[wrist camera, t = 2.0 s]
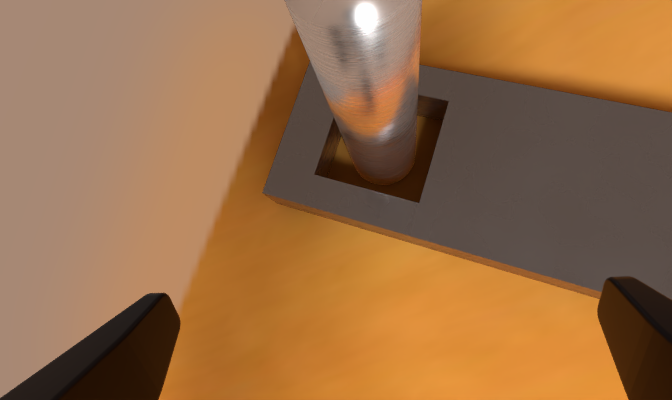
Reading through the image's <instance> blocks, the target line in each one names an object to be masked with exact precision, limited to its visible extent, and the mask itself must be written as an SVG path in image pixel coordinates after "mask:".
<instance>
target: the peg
mask: <svg viewBox="0 0 672 400" xmlns="http://www.w3.org/2000/svg"><path fill="white" fill-rule="evenodd" d="M285 2H286V5H287V7H288V9H289V12H290V14H291V17H292V19H293V21H294V24H295V26H296V29H297V31H298V33H299V36H300V38H301V40H302V43H303V45H304V47H305V50H306V52H307V55H308V57H309V59H310V62H311V64H312V66H313V69H314V71H315V74H316V76H317V78H318V81H319V83H320V85H321V88H322V90H323V92H324V95H325V97H326V100H327V102H328V104H329V107H330V109H331V111H332V114H333V116H334V118H335V121H336V123H337V126H338V128H339V130H340V133H341V135H342V137H343V140H344V142H345V145H346V147H347V149H348V152H349V154H350V156H351V159H352V161H353V163H354V166H355V168H356V170H357V172H358V173H359V174H360V175H361V177H363V178H364V179H365V180H367V181H368V182H371V183H373V184H377V185H389V184H393V183H396V182H398V181H400V180H402V179H403V178H404V177H405V176H406V175H407V174H408V173H409V172H410V171H411V169H412V167H413V165H414V162H415V153H416V130H417V106H418V82H419V59H420V35H421V11H422V0H285Z"/></svg>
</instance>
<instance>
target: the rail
mask: <svg viewBox="0 0 672 400" xmlns="http://www.w3.org/2000/svg"><path fill="white" fill-rule="evenodd" d="M417 115H419V116H423V117H428V118H432V119H437V120H442V121H443V123H442V127H441V130H440V134H439V137H438V140H437V144H436V147H435V151H434V154H433V158H432V161H431V164H430V168H429V171H428V175H427V178H426V182H425V185H424V188H423V192H422V195H421V199H420V202H419V203H417V202H413V201H410V200H406V199H402V198H399V197H395V196H391V195H388V194H384V193H380V192H377V191H373V190H369V189H366V188H362V187H358V186H354V185H351V184H347V183H343V182H340V181H336V180H332V179H329V178H327V176H328V173H329V170H330V167H331V164H332V161H333V158H334V155H335V152H336V149H337V146H338V143H339V140H340V137H341V133H340V130H339V128H338V126H337V123H336V121H335V118H334V116H333V114H332V111H331V109H330V107H329V104H328V102H327V100H326V97H325V95H324V92H323V90H322V88H321V85H320V83H319V81H318V78H317V76H316V74H315V71H314V69H313V66H312V64H311V62H310V63H309V65H308V68H307V71H306V74H305V76H304V79H303V82H302V85H301V87H300V90H299V93H298V96H297V98H296V101H295V104H294V107H293V109H292V112H291V115H290V118H289V121H288V123H287V126H286V129H285V132H284V134H283V137H282V140H281V143H280V145H279V148H278V151H277V154H276V156H275V159H274V162H273V165H272V167H271V170H270V173H269V176H268V178H267V181H266V184H265V187H264V190H263V192H262V193H263V194H265V195H266V196H267V197H269V198H270V199H272V200H273V201H275V202H276V203H278V204H281V205H285V206H288V207H291V208H295V209H298V210H302V211H305V212H308V213H312V214H315V215H318V216H322V217H325V218H328V219H332V220H335V221H339V222H342V223H345V224H349V225H352V226H355V227H359V228H362V229H366V230H369V231H372V232H376V233H379V234H382V235H386V236H389V237H393V238H396V239H399V240H403V241H406V242H409V243H413V244H416V245H420V246H423V247H426V248H430V249H433V250H436V251H440V252H443V253H446V254H450V255H453V256H457V257H460V258H463V259H467V260H470V261H473V262H477V263H480V264H484V265H487V266H490V267H494V268H497V269H500V270H504V271H507V272H511V273H514V274H517V275H521V276H524V277H527V278H531V279H534V280H537V281H541V282H544V283H548V284H551V285H554V286H558V287H561V288H564V289H568V290H571V291H575V292H578V293H581V294H585V295H588V296H591V297H595V298H598V299H600V296H601V293H602V289H603V285H604V282H605V280H606V279H607V278H609V277H620V276H630V277H634V278H636V279H638V280H640V281H641V282H643V283H645V284H646V285H648V286H650V287H651V288H653V289H655V290H656V291H658V292H660V293H661V294H663V295H665V296H666V297H668V298H670V299H671V300H672V113H671V112H666V111H661V110H656V109H650V108H645V107H640V106H635V105H629V104H624V103H619V102H614V101H608V100H603V99H598V98H592V97H587V96H582V95H577V94H571V93H566V92H561V91H556V90H550V89H545V88H540V87H534V86H529V85H524V84H519V83H513V82H508V81H503V80H498V79H492V78H487V77H482V76H477V75H471V74H466V73H461V72H455V71H450V70H445V69H440V68H434V67H429V66H424V65H419V82H418V106H417Z"/></svg>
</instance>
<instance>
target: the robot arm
mask: <svg viewBox="0 0 672 400" xmlns="http://www.w3.org/2000/svg"><path fill="white" fill-rule="evenodd" d="M597 312H598V319H599V322H600V325H601V327H602V330H603V333H604V335H605V338H606V341H607V343H608V346H609V349H610V352H611V354H612V357H613V360H614V362H615V365H616V368H617V370H618V373H619V376H620V379H621V381H622V384H623V387H624V389H625V392H626V394H627V396H628V399H629V400H672V300H671V299H670V298H668V297H666V296H665V295H663V294H661V293H660V292H658V291H656V290H655V289H653V288H651V287H650V286H648V285H646V284H645V283H643V282H641V281H640V280H638V279H636V278H634V277H630V276H620V277H609V278H607V279H606V280H605V282H604V285H603V289H602V293H601V296H600V300H599V304H598V310H597ZM179 330H180V318H179V315H178V313H177V311H176V309H175V307H174V305H173V303H172V301H171V299H170V297H169V296H168V295H167V294H166V293H150V294H147V295H145V296H143V297H142V298H141V299H139V300H138V301H137V302H135V303H134V304H132V305H131V306H129V307H128V308H127V309H125V310H124V311H122V312H121V313H120V314H118V315H117V316H115V317H114V318H113V319H111V320H110V321H108V322H107V323H105V324H104V325H103V326H101V327H100V328H98V329H97V330H96V331H94V332H93V333H91V334H90V335H89V336H87V337H86V338H84V339H83V340H81V341H80V342H79V343H77V344H76V345H74V346H73V347H72V348H70V349H69V350H68V351H66V352H65V353H63V354H62V355H60V356H59V357H58V358H56V359H55V360H53V361H52V362H50V363H49V364H48V365H46V366H45V367H44V368H42V369H41V370H39V371H38V372H36V373H35V374H34V375H32V376H31V377H29V378H28V379H27V380H25V381H24V382H22V383H21V384H20V385H18V386H17V387H16V388H14V389H12V390H11V391H10V392H8V393H7V394H6V395H4V396H3V397H1V398H0V400H158V399H159V396H160V394H161V391H162V388H163V385H164V381H165V378H166V375H167V371H168V368H169V364H170V361H171V357H172V354H173V351H174V347H175V344H176V340H177V337H178V334H179Z"/></svg>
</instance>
